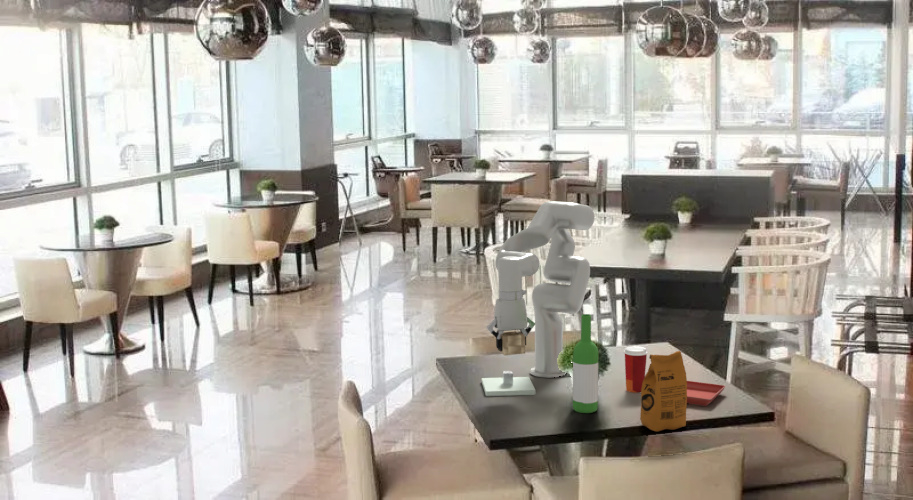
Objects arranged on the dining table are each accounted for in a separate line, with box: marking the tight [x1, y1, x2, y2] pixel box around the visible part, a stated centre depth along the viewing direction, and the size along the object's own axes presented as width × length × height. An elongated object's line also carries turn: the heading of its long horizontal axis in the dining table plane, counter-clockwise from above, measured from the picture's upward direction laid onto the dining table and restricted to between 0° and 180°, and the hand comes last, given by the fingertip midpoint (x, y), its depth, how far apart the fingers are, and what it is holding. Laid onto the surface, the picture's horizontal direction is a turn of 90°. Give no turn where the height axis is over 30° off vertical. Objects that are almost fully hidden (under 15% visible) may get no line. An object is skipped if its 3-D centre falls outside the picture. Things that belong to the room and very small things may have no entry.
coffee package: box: [639, 350, 688, 432], centre depth 328 cm, size 10×12×22 cm
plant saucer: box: [687, 380, 726, 407], centre depth 358 cm, size 18×18×3 cm
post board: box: [481, 370, 536, 397], centre depth 369 cm, size 16×16×6 cm
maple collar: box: [497, 330, 526, 356], centre depth 360 cm, size 7×7×6 cm
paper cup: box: [623, 345, 648, 394], centre depth 365 cm, size 8×8×14 cm
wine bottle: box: [572, 313, 599, 414], centre depth 343 cm, size 8×8×30 cm
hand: (511, 348), depth 361 cm, fingers closed on maple collar, 7 cm apart
